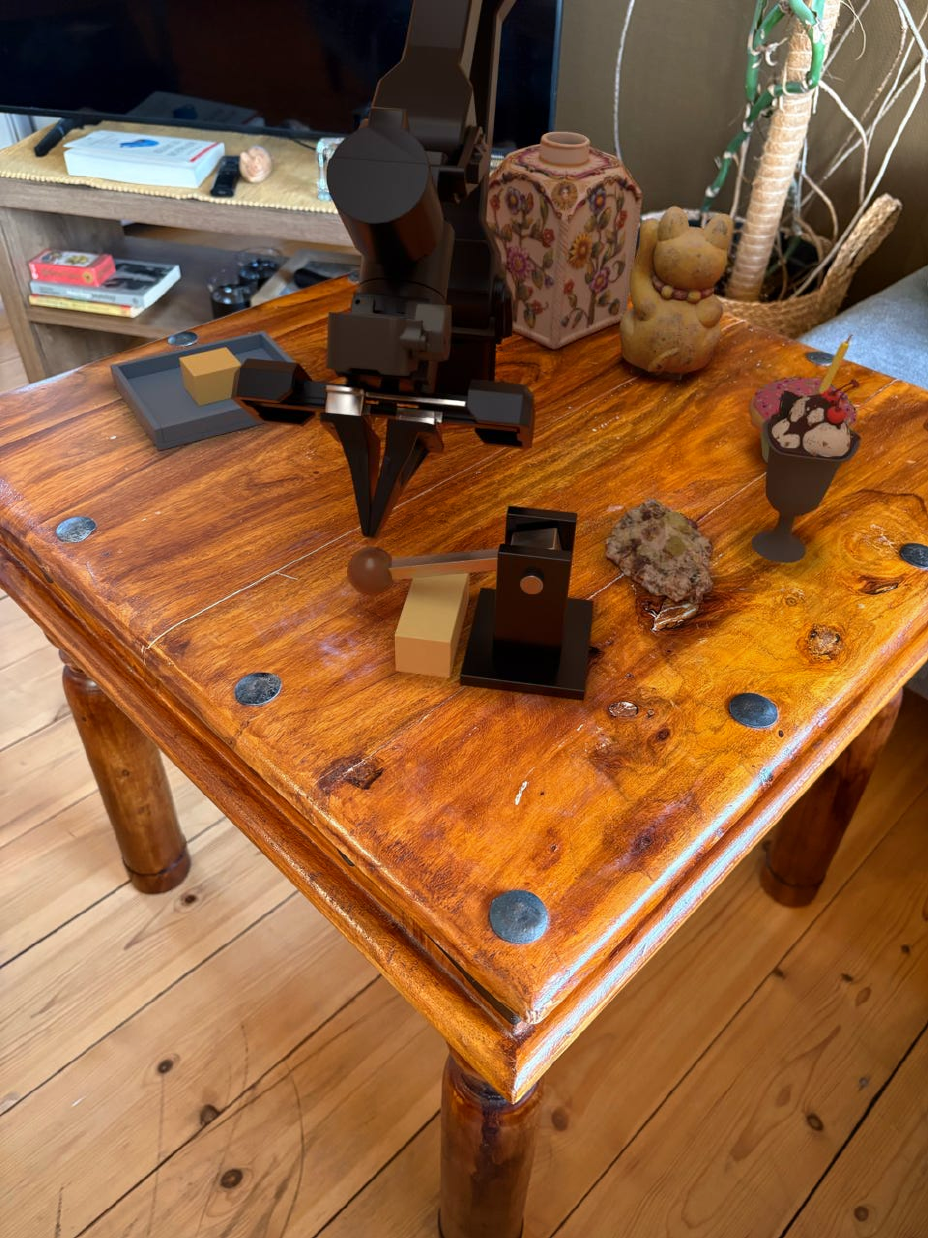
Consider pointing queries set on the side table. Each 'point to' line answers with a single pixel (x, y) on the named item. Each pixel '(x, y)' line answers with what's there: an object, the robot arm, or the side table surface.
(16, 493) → the side table surface
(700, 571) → the mineral rock
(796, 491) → the sundae
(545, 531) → the lever
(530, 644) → the slicer
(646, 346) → the decorative figurine
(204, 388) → the butter pat
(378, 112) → the robot arm
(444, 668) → the tan rectangular block
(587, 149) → the decorative jar
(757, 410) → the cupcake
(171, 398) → the dish
